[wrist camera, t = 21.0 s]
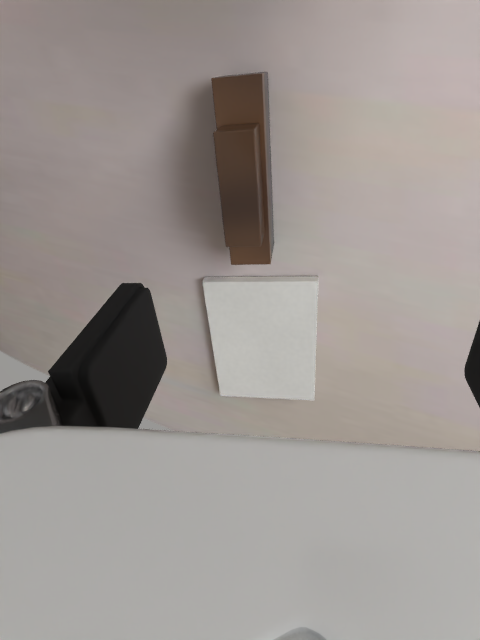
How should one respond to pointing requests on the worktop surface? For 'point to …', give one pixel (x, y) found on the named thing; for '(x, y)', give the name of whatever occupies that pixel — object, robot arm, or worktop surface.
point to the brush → (244, 165)
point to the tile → (264, 335)
